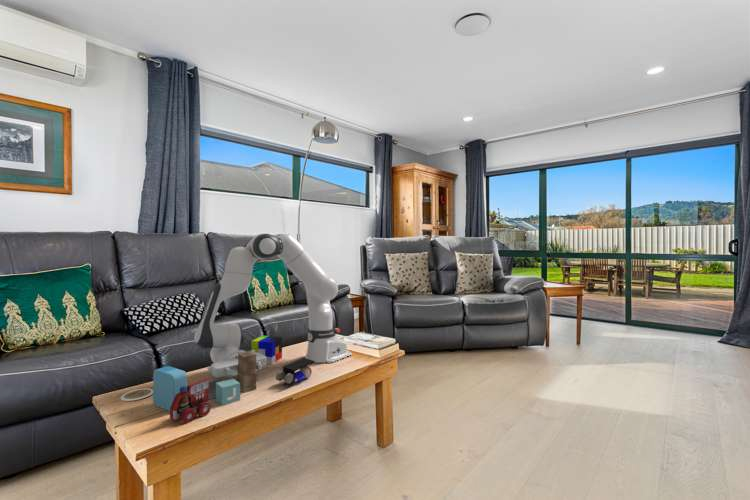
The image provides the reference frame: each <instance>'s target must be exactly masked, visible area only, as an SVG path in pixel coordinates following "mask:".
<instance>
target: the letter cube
mask: <svg viewBox="0 0 750 500" xmlns="http://www.w3.org/2000/svg"><path fill="white" fill-rule="evenodd" d="M215 400H216V401H217V403H219V404H220V405H221V406H226V405H229V404H233V403H235V402H238V401H240V400H241V390H240V383H239V382H238V380H236V379H235V378H229V379H226V380H225V379H224V380H223V381H221V382H217V383H216V399H215Z"/></svg>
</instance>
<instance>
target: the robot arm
mask: <svg viewBox="0 0 750 500" xmlns="http://www.w3.org/2000/svg"><path fill="white" fill-rule="evenodd" d="M276 256H277V257H278V258H279V259H281V261H282V262H283V263H284V265H285V266H286V267H287V268H288V269H289V270H290V271H291V272H292V274H293V275H294V276H295V277H296V278H297V279H298V280H299V281H300V282H301V283H302V284H303V286H304V289H305V294H306V303H307V309H308V328H307V349H306V354H305V357H304V358H306V359H309V360H313V361H314V363H321V364H322V363H326V362H327V363H328V364H331V363H332V362H333V363H336V362H338V361H340V359H341V360H343V359H342V358H344V359H346V358H348V357H347V356H349V355H351V356H352V355H353V354H352V352H351V351H350V350H348V349H347V344H346V342H345V340H343V339H342V338H340V337H339V336H338V335H337V334H336V333H338V334H339V333H340V332H341V331H340V328H338V327H336V328H335V327H333V310H332V306H331V301H332V300H334V299H335V297H337V296H338V293H339V285H338V284H337V282H336V281H335V280H334V279H333V277H331V276H330V275H329V274H328V273H327V272H326V271H325V269H323V267H321V266H320V264H319V263H317V262H316V261H315V260H314V258H313V257H312V256H311V255H310V253H308V251H307V250H306V249H305V248H304V246H303V245H302V244H301V243H300V242H299V241H298V240H297V239H296V238H295V237H294V236H292V235H291V234H290V233H284V234H281V235H279V236H275V235H273V234H270V233H260V234H257V235H255V236H253V237H251V238H250V239H249V240H248V241H247V243H246V244H245V245H244V246H236V247H233V248H232V249H231V250H230V251H229V253H228V256H227V260H226V262H225V268H224V273H223V275H222V278H221V279H220V281H219V282H218V283H215V284H214V285H213V287H212V288H211V291H210V293H209V296H208V298H207V301H206V305H205V307H204V311H203V313H202V316H201V319H200V321H199V323H198V326H197V328H196V330H195V333H194V336H193V337H194V338H193V339H194V343H195V345H196V346H197V347H198V348H199V349H201V350H208V349H211V350H210V352H209V355H210V359H211V362H213V363H211V365H210V366H207V371H209V372H211V375H212V377H214V378H222V377H226V376H232V377H236V376H238V353H243V352H248V351H251V352H253V353H255V354H256V371H260V370H262V369H263V367H264V368H265V367H266V366H267V365H268V364H267V359H266V356H264V355H262V354H260V353H257V352H255V350H252V349H242V347H243V344H244V342H245V341H244V340H245V333H244V330H243V328H242V327H241V325H240V324H239V323H214V322H215V319H216V316H217V314H218V310H219V308H220V304H222V302H224V301H225V300H227V299H229V298H232V297H235V296H238V295H241V294H243V293H244V292H247V290H248V289H249V288H250V287H251V286H250V285H251V282H252V276H253V270H254V269H253V268H254V265H255V263H256V262H257V261H258V260H269V259H272V258H274V257H276ZM345 357H346V358H345ZM349 357H350V356H349ZM337 360H338V361H337ZM335 361H336V362H335ZM333 363H332V364H333Z"/></svg>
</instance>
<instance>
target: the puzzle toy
mask: <svg viewBox="0 0 750 500" xmlns="http://www.w3.org/2000/svg"><path fill="white" fill-rule="evenodd" d="M251 350H255V352H257V353H260V354H262V355H264V356H266V359H267V364H266V365H273V364H275V363H277V362H278V361H279V360H281V359H282V358H283V337H282V336H274V335H261V336H259V337H257V338H255V339H253V340H251Z"/></svg>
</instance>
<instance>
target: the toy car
mask: <svg viewBox="0 0 750 500" xmlns="http://www.w3.org/2000/svg"><path fill="white" fill-rule="evenodd" d="M312 364H315V362H314V361H313V360H309V359H306V358H305V357H302V358H300V359H298V360H295V361H292V362H291V363H288V364H286V365H284V366H282V370H281V371H278V372H277V373H276V375H275V380H276V381H279V382H282V381H284V383H282V386H286V385H287V384H289V385H288V386H287V388H290V387H292V386H293V385H295V383H296V382H300V381H302V380H303V379H308V378H310V377H311V375H312V373H313V371H312V368H311V367H310V365H312Z"/></svg>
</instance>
